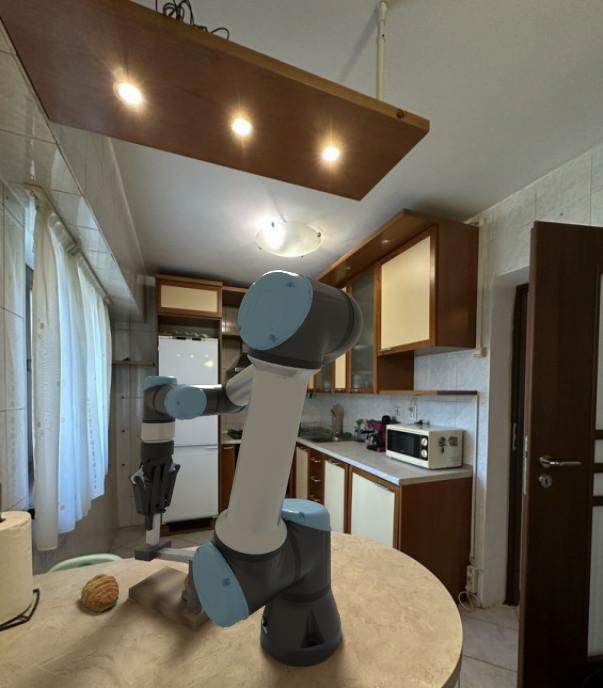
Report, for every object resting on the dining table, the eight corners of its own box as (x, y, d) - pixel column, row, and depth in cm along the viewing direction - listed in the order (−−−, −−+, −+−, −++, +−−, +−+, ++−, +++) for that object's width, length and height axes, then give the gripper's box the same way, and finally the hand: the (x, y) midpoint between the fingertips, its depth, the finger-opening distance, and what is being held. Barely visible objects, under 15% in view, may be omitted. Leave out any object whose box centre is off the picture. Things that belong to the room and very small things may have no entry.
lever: (222, 559, 70) (221, 545, 71) (201, 573, 65) (200, 558, 65) (157, 551, 79) (156, 539, 80) (134, 563, 74) (134, 550, 75)
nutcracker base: (229, 599, 71) (231, 543, 72) (195, 630, 62) (197, 565, 63) (166, 574, 80) (168, 525, 81) (128, 598, 71) (131, 542, 72)
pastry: (126, 602, 70) (127, 583, 70) (90, 620, 65) (92, 599, 65) (111, 584, 76) (111, 567, 77) (77, 599, 71) (78, 581, 72)
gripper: (169, 434, 86) (164, 528, 84) (122, 442, 75) (115, 551, 72) (189, 437, 83) (185, 534, 80) (144, 445, 72) (137, 560, 69)
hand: (152, 542), depth 76 cm, fingers closed
